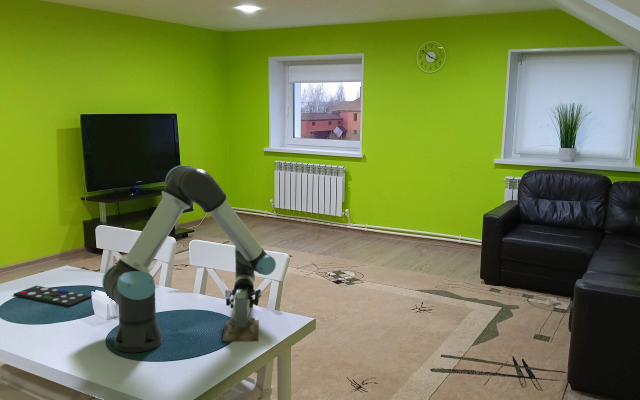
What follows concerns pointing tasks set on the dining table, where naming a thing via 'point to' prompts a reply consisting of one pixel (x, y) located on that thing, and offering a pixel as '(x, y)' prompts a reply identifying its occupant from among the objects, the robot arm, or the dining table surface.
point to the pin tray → (241, 331)
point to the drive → (241, 308)
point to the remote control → (52, 296)
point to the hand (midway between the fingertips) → (241, 309)
